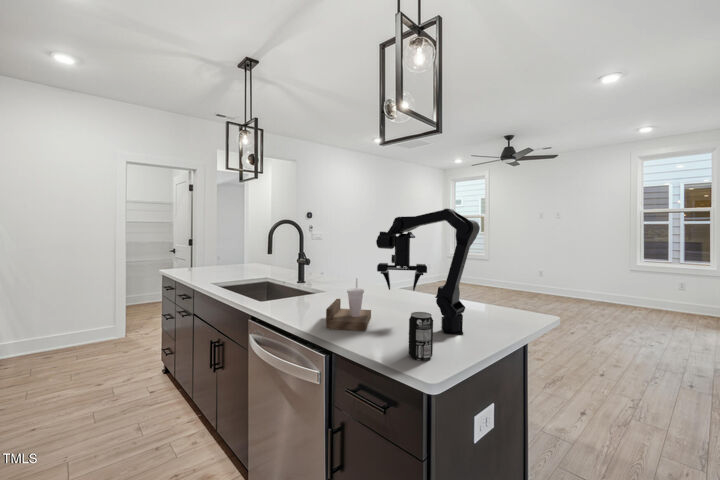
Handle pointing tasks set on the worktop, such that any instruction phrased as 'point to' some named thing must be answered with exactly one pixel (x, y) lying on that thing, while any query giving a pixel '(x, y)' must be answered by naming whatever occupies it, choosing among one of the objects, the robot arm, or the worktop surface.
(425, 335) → the beverage can
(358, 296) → the smoothie
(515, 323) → the worktop surface
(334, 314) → the wooden l-shaped block
